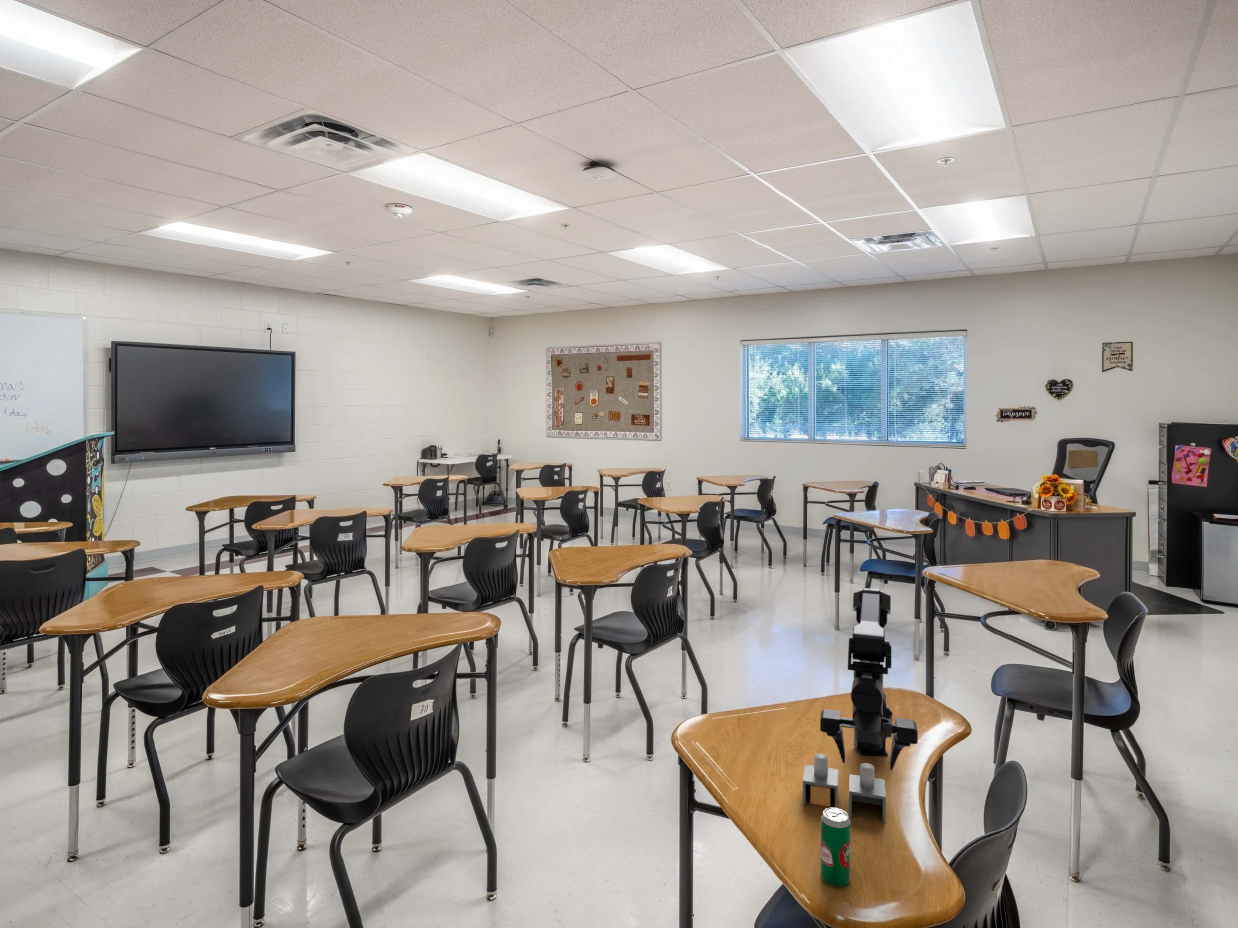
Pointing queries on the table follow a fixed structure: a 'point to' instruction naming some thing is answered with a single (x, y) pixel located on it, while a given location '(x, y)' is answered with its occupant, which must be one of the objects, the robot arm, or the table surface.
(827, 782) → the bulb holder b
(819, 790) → the letter cube
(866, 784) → the hood
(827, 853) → the soda can
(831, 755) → the table surface
